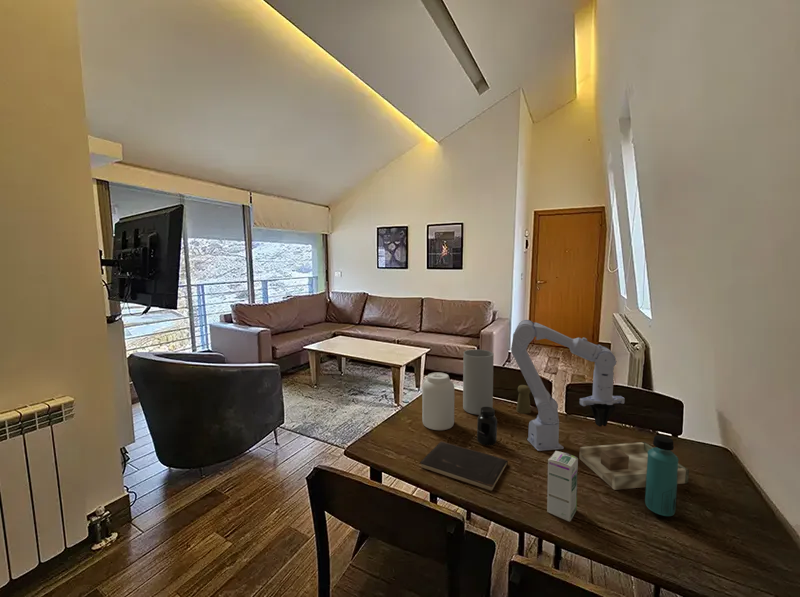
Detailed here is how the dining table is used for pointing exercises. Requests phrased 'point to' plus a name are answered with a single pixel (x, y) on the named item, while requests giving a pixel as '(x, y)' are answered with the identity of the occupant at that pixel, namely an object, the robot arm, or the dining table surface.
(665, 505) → the beverage bottle
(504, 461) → the hardcover book
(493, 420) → the supplement bottle
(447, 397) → the white lidded jar
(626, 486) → the trap box
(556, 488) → the syrup box
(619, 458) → the walnut block
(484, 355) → the cylinder vase
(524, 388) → the cork
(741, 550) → the dining table surface
